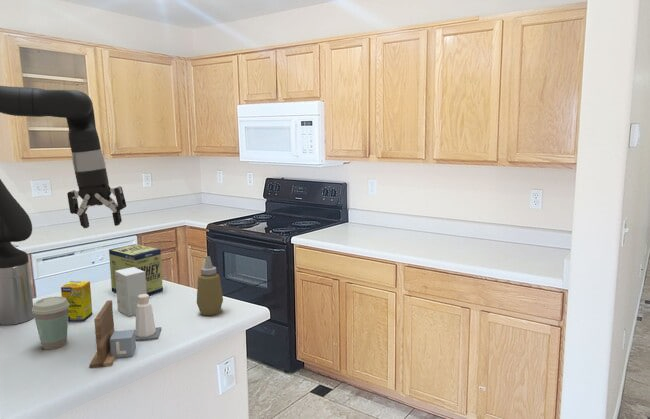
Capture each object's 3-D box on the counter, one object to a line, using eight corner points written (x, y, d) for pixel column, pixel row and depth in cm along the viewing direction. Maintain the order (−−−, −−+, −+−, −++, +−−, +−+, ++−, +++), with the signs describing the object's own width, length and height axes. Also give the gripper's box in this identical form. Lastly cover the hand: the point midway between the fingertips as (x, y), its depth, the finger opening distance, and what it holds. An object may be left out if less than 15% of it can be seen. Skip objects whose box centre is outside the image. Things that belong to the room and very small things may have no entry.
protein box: (138, 300, 158) (135, 255, 155) (110, 291, 166) (107, 249, 164) (164, 291, 166) (161, 249, 164) (136, 284, 175) (134, 243, 172)
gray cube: (111, 358, 116) (109, 339, 116) (115, 349, 121) (114, 331, 121) (132, 356, 117) (131, 337, 117) (136, 347, 122) (134, 329, 122)
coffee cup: (48, 337, 129) (44, 295, 127) (79, 337, 129) (75, 295, 127) (28, 351, 120) (23, 307, 118) (60, 352, 120) (56, 307, 118)
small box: (148, 311, 148) (145, 271, 146) (128, 316, 143) (125, 275, 141) (136, 304, 153) (134, 266, 151) (117, 310, 149) (114, 270, 147)
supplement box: (63, 322, 139) (60, 287, 137) (73, 314, 145) (70, 280, 143) (83, 322, 139) (80, 286, 138) (93, 314, 145) (90, 280, 143)
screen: (89, 367, 112) (85, 320, 110) (102, 344, 124) (99, 301, 122) (112, 365, 113) (108, 318, 111) (122, 342, 125) (119, 299, 124)
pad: (130, 341, 126) (130, 339, 126) (135, 331, 133) (135, 329, 133) (158, 339, 127) (158, 337, 127) (161, 329, 134) (161, 327, 134)
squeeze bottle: (204, 319, 141) (202, 261, 138) (192, 312, 147) (189, 256, 144) (228, 312, 146) (226, 256, 143) (215, 305, 152) (213, 252, 149)
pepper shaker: (130, 335, 128) (128, 297, 127) (145, 328, 133) (142, 291, 132) (146, 338, 126) (143, 299, 125) (160, 330, 131) (158, 293, 130)
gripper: (55, 172, 121) (69, 232, 125) (110, 167, 121) (122, 227, 125) (70, 167, 128) (82, 224, 132) (122, 163, 128) (133, 220, 132)
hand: (102, 226), depth 128 cm, fingers open, 8 cm apart
